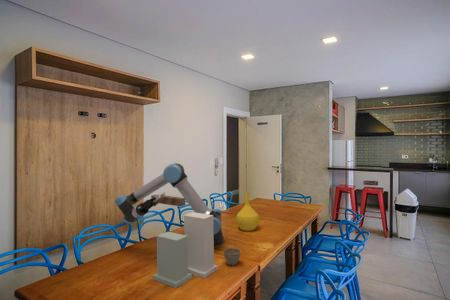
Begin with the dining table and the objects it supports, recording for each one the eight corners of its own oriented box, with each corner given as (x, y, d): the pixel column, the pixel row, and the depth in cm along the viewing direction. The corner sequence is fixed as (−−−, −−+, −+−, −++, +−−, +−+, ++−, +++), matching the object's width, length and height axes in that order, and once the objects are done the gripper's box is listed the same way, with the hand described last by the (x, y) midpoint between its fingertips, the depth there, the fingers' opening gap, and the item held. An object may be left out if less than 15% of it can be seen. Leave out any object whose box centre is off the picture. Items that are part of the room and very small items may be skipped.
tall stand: (181, 270, 144) (180, 215, 144) (195, 262, 154) (194, 211, 154) (204, 278, 136) (203, 219, 135) (217, 269, 146) (216, 214, 145)
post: (153, 279, 135) (152, 236, 135) (170, 270, 145) (169, 230, 145) (175, 288, 126) (175, 242, 126) (192, 277, 136) (191, 235, 136)
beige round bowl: (230, 258, 160) (230, 246, 160) (244, 262, 153) (244, 250, 153) (220, 264, 152) (219, 251, 152) (233, 269, 146) (233, 256, 146)
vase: (233, 231, 210) (233, 194, 210) (239, 225, 228) (239, 190, 227) (256, 233, 204) (255, 195, 204) (261, 227, 222) (260, 191, 221)
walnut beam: (151, 202, 162) (151, 195, 162) (156, 200, 166) (156, 194, 166) (180, 206, 149) (180, 199, 149) (185, 205, 153) (185, 198, 153)
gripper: (152, 212, 177) (174, 198, 166) (131, 218, 163) (153, 203, 152) (148, 202, 179) (170, 187, 168) (127, 207, 165) (149, 191, 154)
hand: (162, 195), depth 160 cm, fingers closed on walnut beam, 4 cm apart
